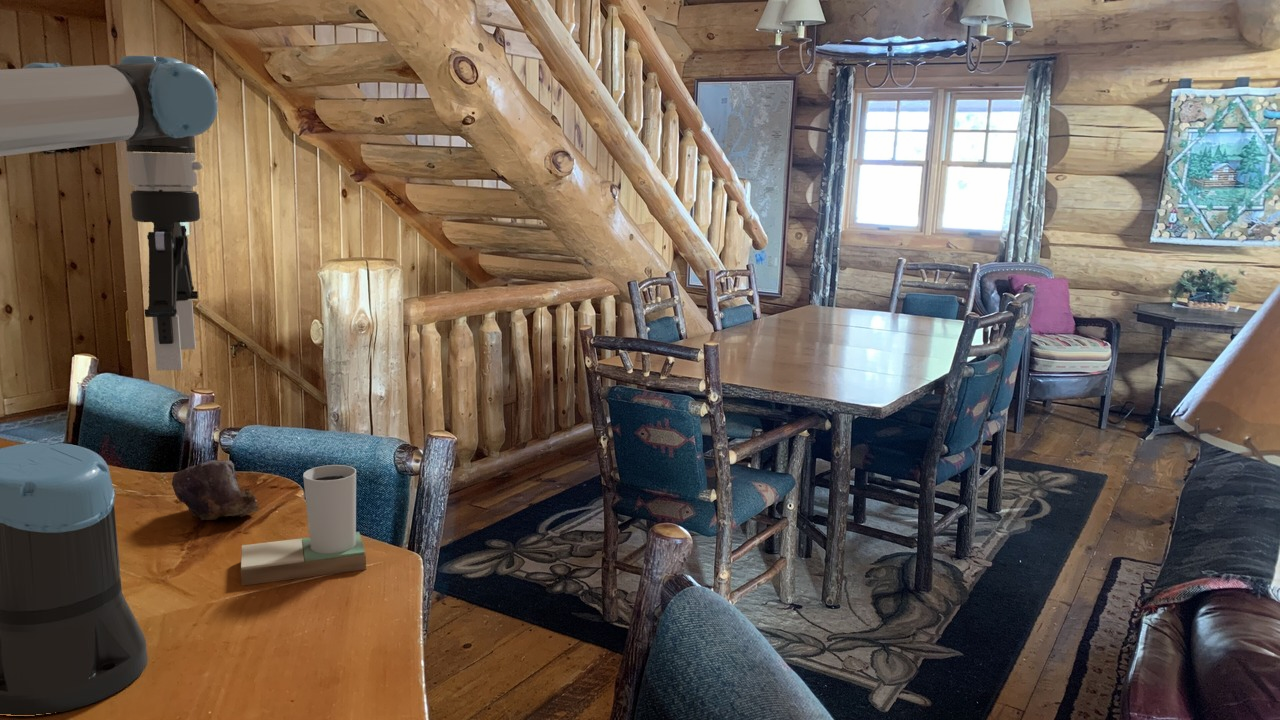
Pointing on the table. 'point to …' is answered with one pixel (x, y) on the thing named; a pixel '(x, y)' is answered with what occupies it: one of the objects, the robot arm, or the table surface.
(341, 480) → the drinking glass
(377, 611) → the table surface
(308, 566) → the cream and green board
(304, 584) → the table surface
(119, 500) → the table surface
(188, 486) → the rock
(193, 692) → the table surface
